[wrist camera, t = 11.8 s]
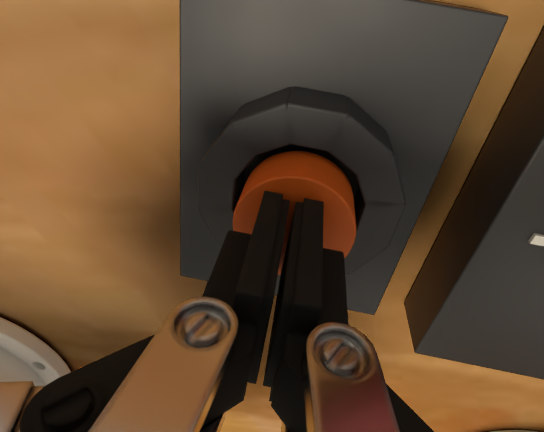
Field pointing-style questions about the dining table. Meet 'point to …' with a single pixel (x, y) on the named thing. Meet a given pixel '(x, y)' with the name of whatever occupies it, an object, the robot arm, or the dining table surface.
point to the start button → (301, 196)
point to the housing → (324, 112)
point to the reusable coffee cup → (513, 431)
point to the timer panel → (492, 248)
